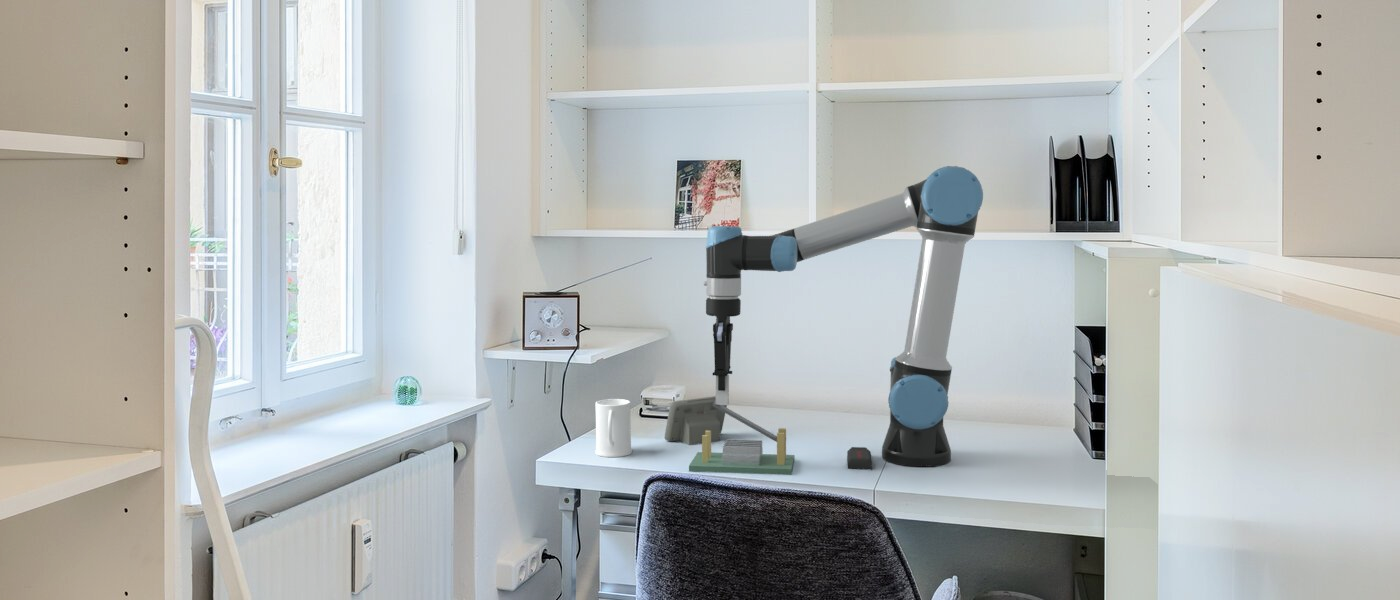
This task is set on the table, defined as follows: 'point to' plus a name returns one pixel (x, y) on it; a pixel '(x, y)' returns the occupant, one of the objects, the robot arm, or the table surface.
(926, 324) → the robot arm
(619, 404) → the mug
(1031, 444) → the table surface
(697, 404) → the digital clock
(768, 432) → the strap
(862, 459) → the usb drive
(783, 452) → the board
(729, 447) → the heatsink
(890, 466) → the table surface
